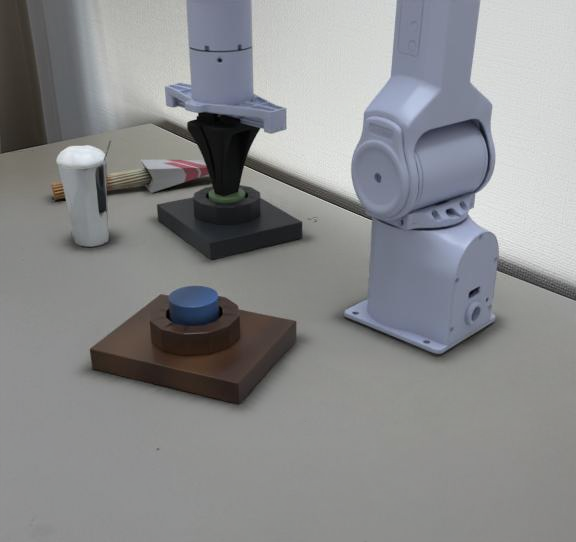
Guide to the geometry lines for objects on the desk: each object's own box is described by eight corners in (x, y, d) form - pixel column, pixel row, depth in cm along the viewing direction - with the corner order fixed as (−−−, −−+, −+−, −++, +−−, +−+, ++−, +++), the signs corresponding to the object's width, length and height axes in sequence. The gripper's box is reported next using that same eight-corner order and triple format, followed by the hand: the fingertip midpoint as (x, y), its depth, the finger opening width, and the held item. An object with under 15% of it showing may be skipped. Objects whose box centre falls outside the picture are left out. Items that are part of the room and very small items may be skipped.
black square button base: (302, 238, 85) (302, 203, 83) (210, 259, 80) (209, 223, 79) (243, 202, 94) (242, 170, 92) (157, 220, 89) (155, 186, 87)
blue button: (227, 311, 65) (227, 290, 64) (204, 332, 62) (203, 310, 61) (185, 303, 66) (184, 282, 65) (160, 323, 63) (158, 301, 62)
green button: (252, 211, 86) (251, 194, 85) (219, 218, 84) (219, 201, 83) (234, 201, 88) (234, 184, 87) (203, 207, 87) (202, 190, 86)
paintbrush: (232, 155, 98) (53, 184, 92) (234, 179, 99) (58, 209, 93) (222, 146, 101) (48, 173, 95) (224, 169, 102) (52, 197, 97)
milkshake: (113, 252, 82) (101, 146, 77) (60, 247, 83) (44, 143, 78) (130, 234, 86) (119, 132, 81) (79, 230, 87) (65, 129, 82)
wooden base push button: (296, 340, 67) (296, 299, 65) (239, 404, 59) (237, 359, 58) (162, 312, 71) (159, 273, 69) (91, 369, 64) (85, 326, 62)
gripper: (135, 41, 80) (147, 185, 87) (244, 64, 71) (248, 221, 78) (193, 32, 84) (201, 169, 91) (303, 52, 76) (302, 202, 83)
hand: (226, 192), depth 85 cm, fingers closed, pressing on green button
